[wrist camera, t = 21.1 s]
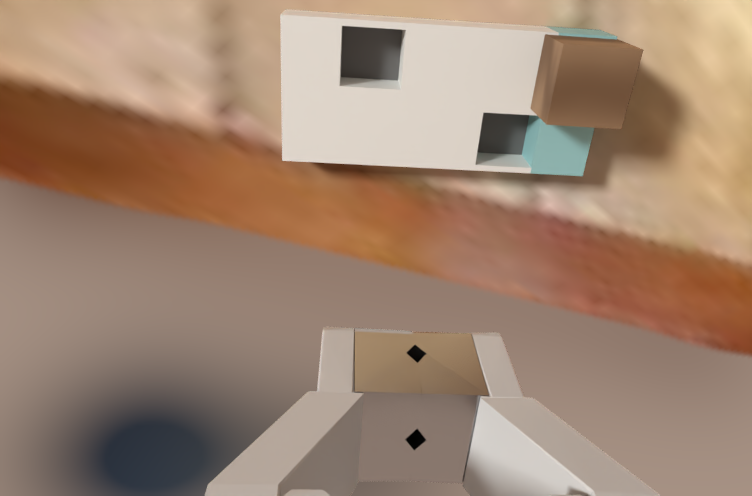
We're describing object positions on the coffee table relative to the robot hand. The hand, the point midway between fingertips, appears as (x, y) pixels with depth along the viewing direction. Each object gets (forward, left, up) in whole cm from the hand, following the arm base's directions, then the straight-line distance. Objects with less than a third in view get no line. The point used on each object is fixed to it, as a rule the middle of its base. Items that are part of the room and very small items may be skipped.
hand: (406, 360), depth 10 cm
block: (0, +11, -25) cm, 27 cm away
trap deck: (+1, +4, -27) cm, 27 cm away
